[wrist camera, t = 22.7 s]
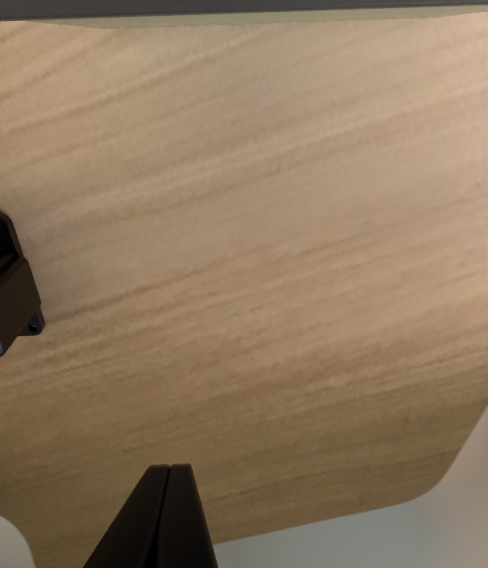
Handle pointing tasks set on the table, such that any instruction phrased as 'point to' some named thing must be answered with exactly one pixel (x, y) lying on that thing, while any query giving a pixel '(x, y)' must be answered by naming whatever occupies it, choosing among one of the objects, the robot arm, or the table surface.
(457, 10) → the open box
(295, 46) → the table surface
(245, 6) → the box lid
